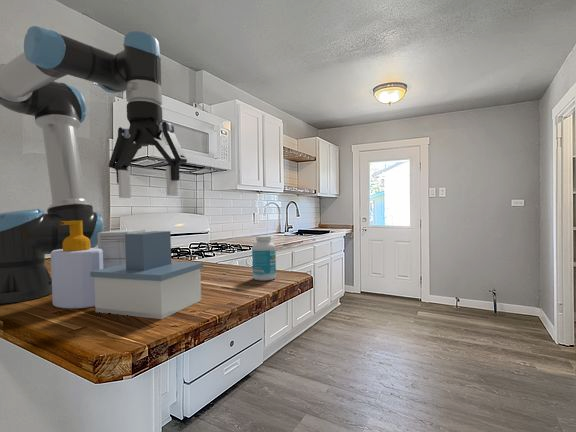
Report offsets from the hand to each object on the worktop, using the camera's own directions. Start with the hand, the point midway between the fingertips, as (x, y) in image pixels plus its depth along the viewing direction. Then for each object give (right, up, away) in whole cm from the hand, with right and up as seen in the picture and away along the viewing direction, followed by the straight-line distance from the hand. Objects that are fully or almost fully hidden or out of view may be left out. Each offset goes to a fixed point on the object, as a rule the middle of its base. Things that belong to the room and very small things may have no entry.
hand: (147, 196), depth 74 cm
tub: (0, -26, +1) cm, 26 cm away
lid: (0, -19, 0) cm, 19 cm away
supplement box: (-15, -26, +18) cm, 35 cm away
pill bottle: (+25, -25, +27) cm, 44 cm away
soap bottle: (-18, -26, +4) cm, 32 cm away
